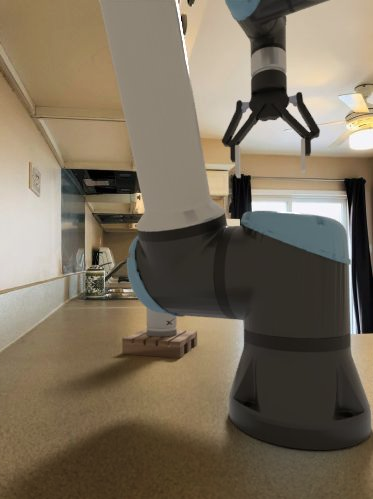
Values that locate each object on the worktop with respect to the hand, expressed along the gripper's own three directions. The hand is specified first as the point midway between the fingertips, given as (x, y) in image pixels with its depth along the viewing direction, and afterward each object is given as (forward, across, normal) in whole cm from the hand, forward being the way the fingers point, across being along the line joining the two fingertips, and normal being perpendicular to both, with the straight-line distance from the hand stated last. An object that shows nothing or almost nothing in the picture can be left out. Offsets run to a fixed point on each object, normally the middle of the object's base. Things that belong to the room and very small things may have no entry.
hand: (269, 174), depth 78 cm
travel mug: (+34, +22, +7) cm, 41 cm away
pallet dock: (+37, +22, +7) cm, 43 cm away
